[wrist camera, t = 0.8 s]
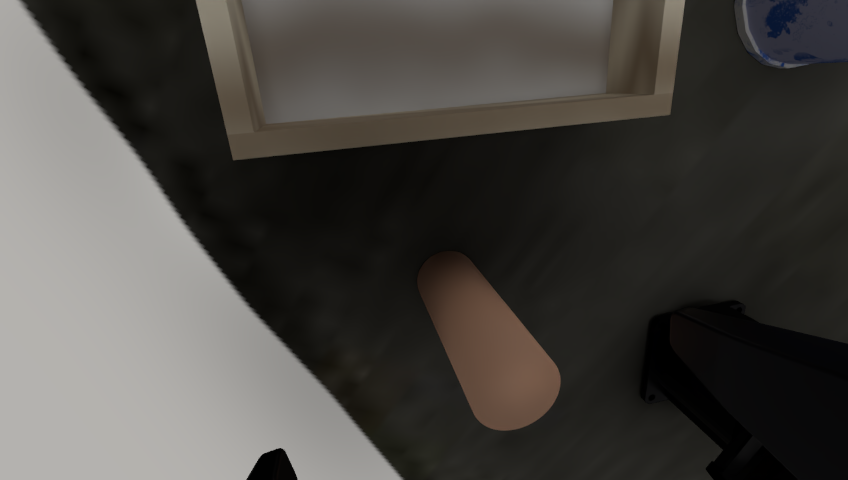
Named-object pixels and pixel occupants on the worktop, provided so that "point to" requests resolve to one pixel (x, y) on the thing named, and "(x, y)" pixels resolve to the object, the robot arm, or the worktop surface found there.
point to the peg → (487, 344)
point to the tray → (432, 68)
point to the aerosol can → (793, 31)
